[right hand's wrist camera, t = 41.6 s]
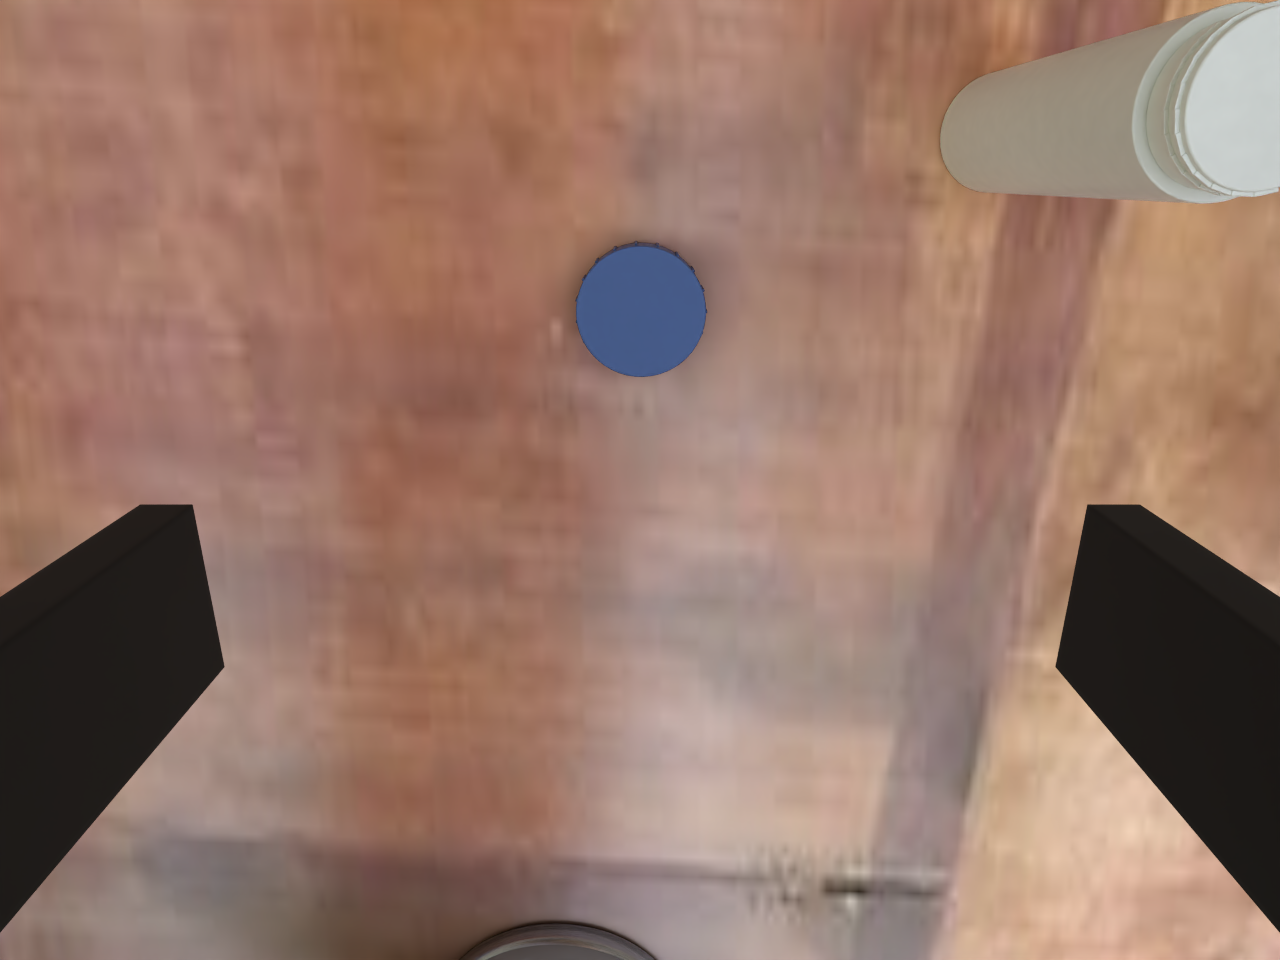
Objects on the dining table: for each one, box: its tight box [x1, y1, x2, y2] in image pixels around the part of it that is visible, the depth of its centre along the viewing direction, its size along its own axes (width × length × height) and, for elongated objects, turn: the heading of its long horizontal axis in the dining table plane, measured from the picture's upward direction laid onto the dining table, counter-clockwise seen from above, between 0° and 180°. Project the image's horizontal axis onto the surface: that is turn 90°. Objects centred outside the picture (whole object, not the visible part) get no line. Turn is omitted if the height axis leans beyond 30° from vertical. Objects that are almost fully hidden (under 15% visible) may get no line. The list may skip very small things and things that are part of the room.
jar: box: [940, 0, 1280, 204], centre depth 28 cm, size 5×5×17 cm
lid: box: [576, 241, 707, 377], centre depth 37 cm, size 6×6×2 cm
